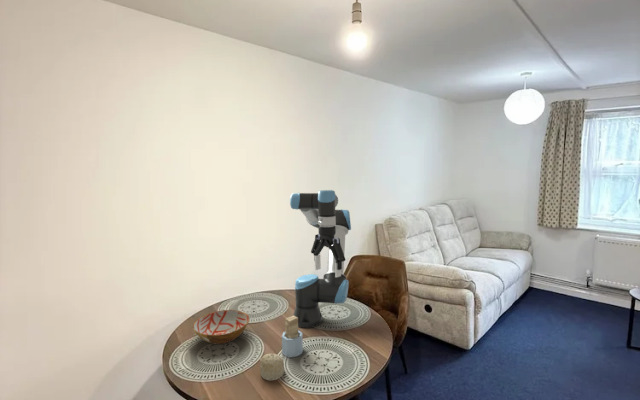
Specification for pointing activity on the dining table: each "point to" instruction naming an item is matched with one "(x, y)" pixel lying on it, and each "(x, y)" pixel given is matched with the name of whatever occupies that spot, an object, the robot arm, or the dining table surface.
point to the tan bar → (291, 327)
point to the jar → (292, 345)
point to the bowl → (221, 326)
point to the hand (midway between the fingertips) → (327, 273)
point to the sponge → (271, 367)
